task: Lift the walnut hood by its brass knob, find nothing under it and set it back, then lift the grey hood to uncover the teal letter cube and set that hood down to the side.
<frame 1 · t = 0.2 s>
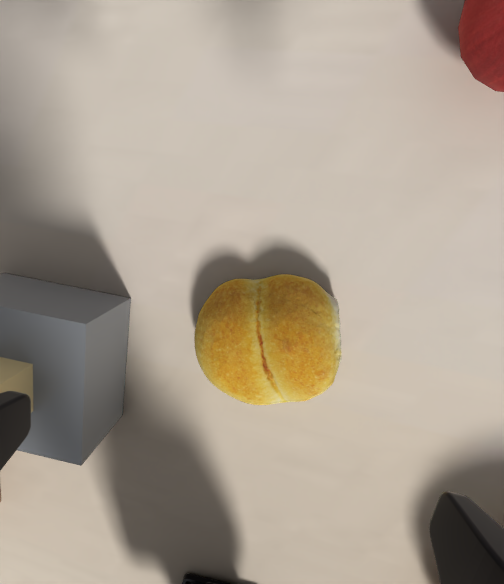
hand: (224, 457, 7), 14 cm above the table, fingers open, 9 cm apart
grey hood: (65, 346, 24), on the table
bread roll: (272, 331, 22), on the table
onion: (492, 48, 17), on the table
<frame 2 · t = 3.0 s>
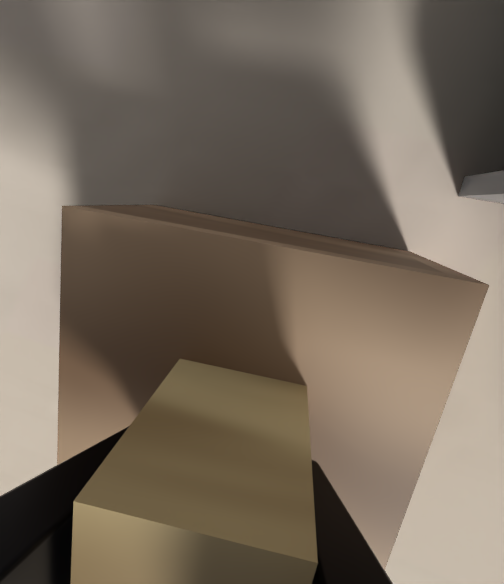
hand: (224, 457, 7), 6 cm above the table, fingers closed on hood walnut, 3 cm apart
hood walnut: (255, 345, 13), on the table, touching gripper
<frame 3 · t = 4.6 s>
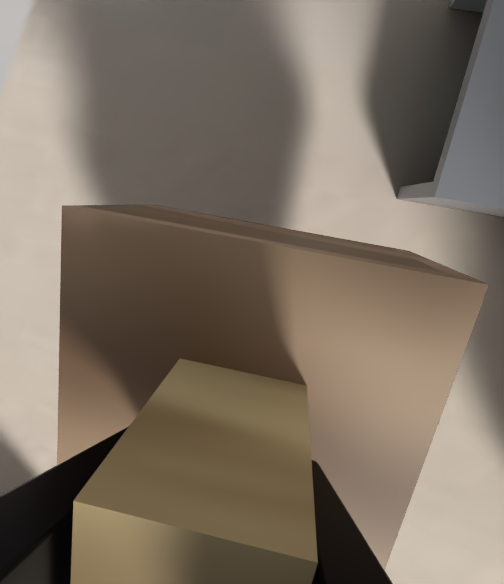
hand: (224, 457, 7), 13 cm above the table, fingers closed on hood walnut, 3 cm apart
hood walnut: (255, 344, 13), point 7 cm above the table, touching gripper
when the fingers open (7 cm above the table, at t = 6.4 s): hood walnut stays where it is, on the table.
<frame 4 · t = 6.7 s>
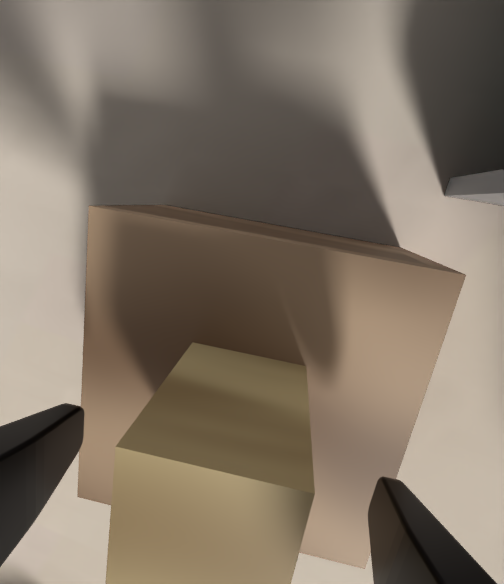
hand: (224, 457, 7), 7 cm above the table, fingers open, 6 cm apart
hood walnut: (258, 335, 14), on the table
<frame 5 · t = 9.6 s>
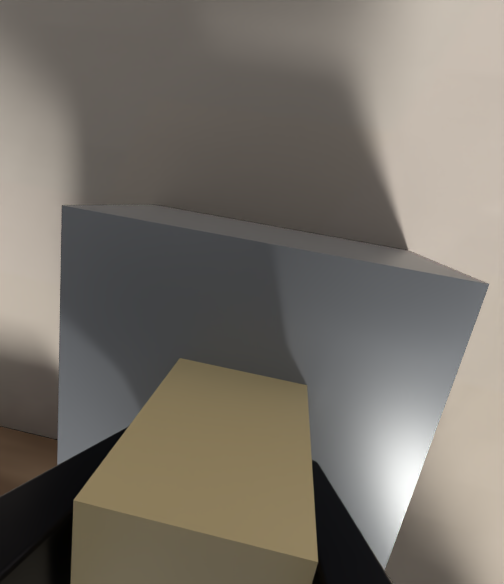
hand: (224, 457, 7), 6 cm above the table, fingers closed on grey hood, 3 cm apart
grey hood: (255, 344, 13), on the table, touching gripper
hood walnut: (18, 508, 17), on the table
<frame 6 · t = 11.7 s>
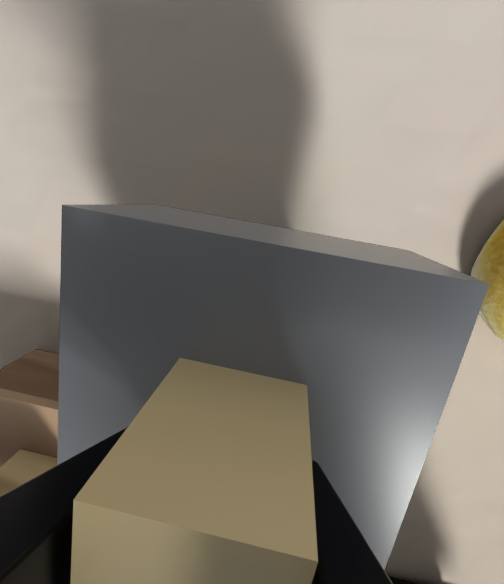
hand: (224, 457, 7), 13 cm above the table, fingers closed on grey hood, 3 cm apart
grey hood: (255, 344, 13), point 7 cm above the table, touching gripper
hood walnut: (97, 422, 24), on the table
when the fingers open (7 cm above the table, at t = 13.8 s): grey hood stays where it is, on the table.
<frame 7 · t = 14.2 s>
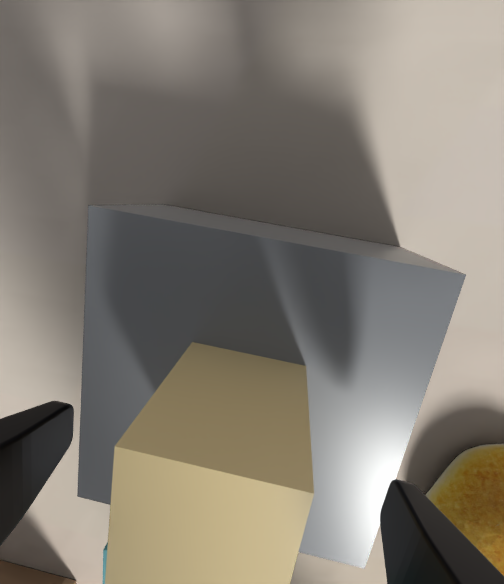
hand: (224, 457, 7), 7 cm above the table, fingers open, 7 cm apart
grey hood: (258, 335, 14), on the table
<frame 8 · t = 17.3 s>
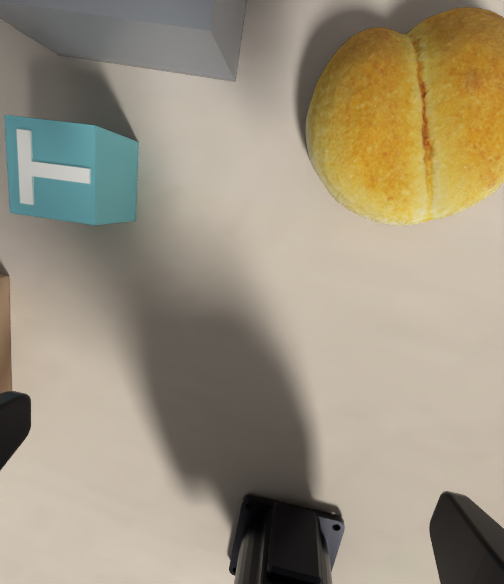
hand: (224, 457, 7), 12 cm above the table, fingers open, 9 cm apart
letter cube: (102, 178, 18), on the table
bread roll: (405, 130, 16), on the table
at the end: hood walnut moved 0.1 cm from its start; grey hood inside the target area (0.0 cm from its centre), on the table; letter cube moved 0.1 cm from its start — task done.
